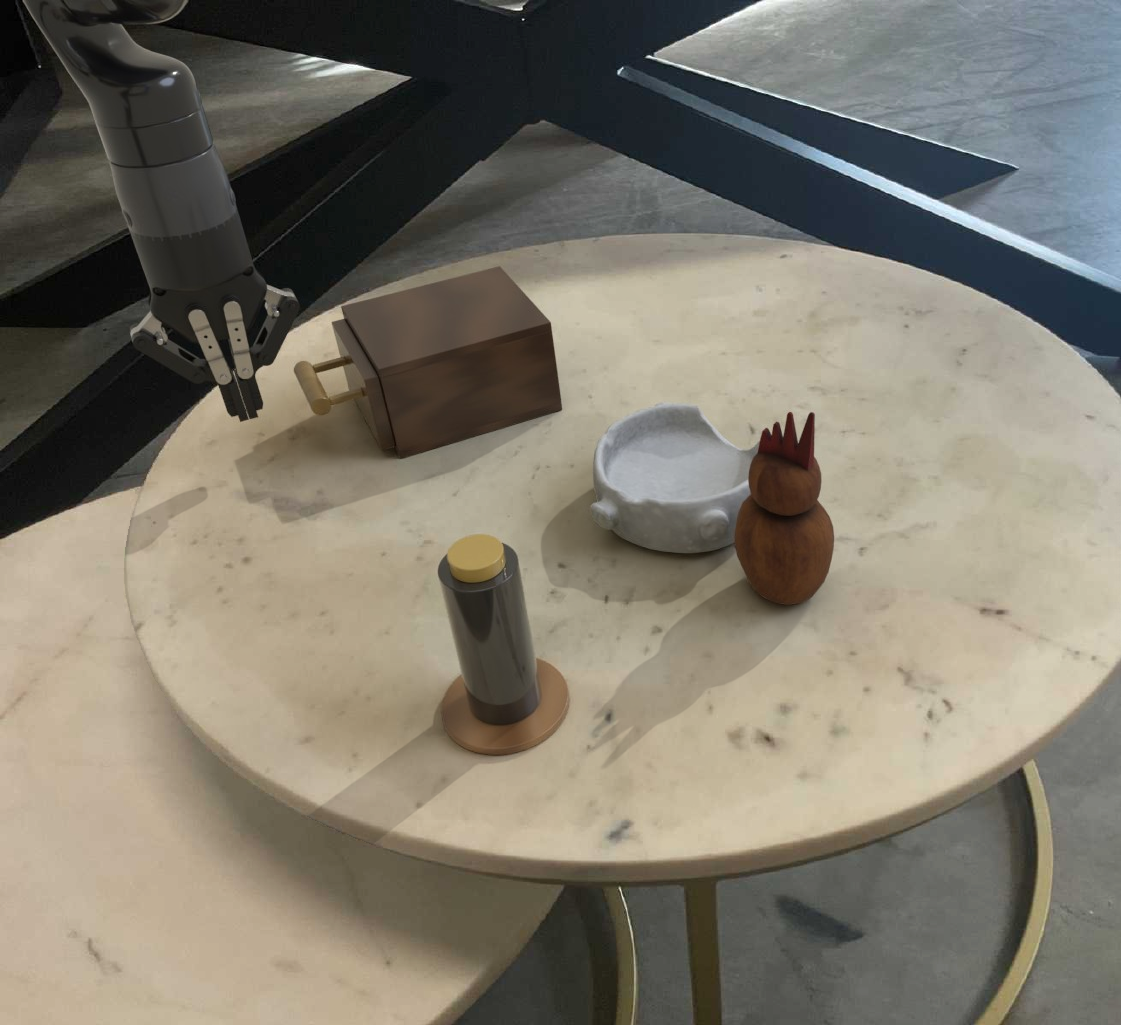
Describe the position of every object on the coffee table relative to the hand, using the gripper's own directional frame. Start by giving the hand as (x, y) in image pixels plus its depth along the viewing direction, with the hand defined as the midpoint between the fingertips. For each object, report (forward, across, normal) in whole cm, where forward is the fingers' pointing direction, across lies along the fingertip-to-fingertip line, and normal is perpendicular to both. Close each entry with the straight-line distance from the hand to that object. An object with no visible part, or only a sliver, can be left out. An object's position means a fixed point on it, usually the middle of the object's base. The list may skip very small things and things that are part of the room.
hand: (247, 415), depth 93 cm
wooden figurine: (+5, -30, +35) cm, 46 cm away
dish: (+5, -28, +23) cm, 37 cm away
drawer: (+4, -14, -1) cm, 14 cm away
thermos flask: (+4, -9, +36) cm, 38 cm away
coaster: (+5, -9, +36) cm, 38 cm away
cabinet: (+4, -18, -1) cm, 18 cm away
